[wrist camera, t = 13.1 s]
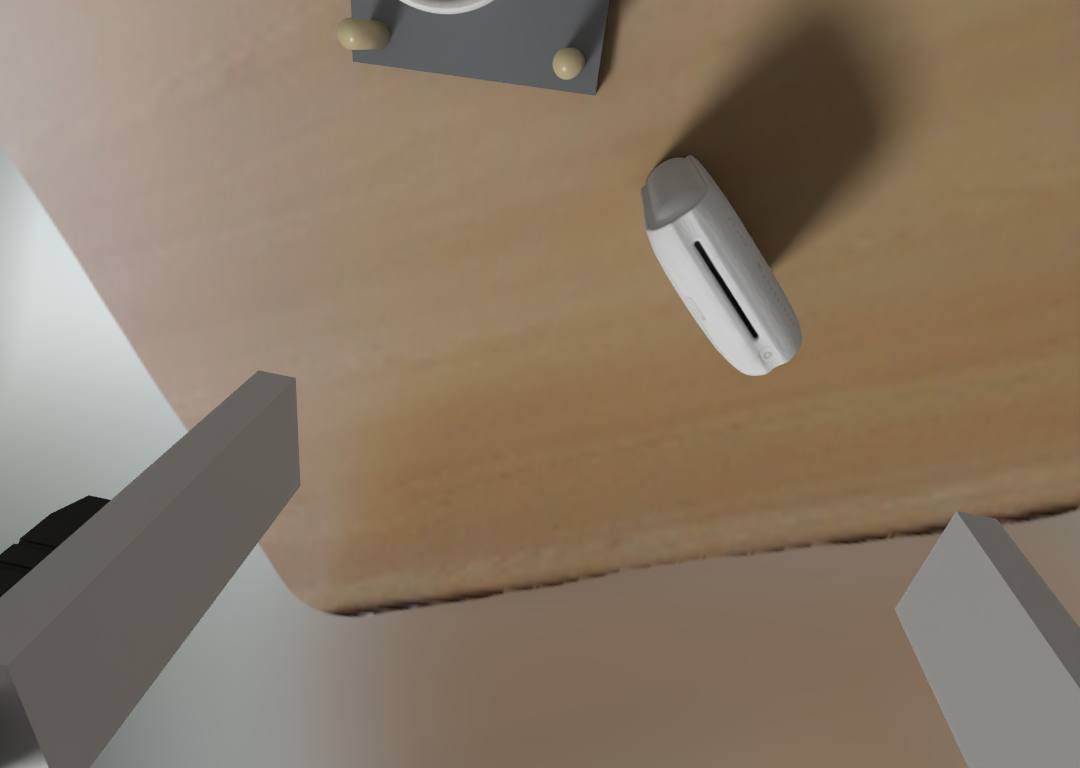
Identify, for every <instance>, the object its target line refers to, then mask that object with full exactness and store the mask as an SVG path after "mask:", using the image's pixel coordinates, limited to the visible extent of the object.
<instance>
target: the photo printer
mask: <svg viewBox="0 0 1080 768" xmlns="http://www.w3.org/2000/svg"><path fill="white" fill-rule="evenodd" d="M641 198H642V204H643V211H644V218H645V226H646V231H647V234H648V238H649V240H650V243H651V246H652V249H653V251H654V253H655V255H656V257H657V259H658V261H659V262H660V264H661V266H662V268H663V269H664V271H665V273H666V275H667V277H668V278H669V280H670V281H671V283H672V285H673V286H674V288H675V290H676V291H677V293H678V294H679V296H680V298H681V299H682V301H683V302H684V304H685V305H686V307H687V308H688V310H689V311H690V313H691V314H692V316H693V317H694V319H695V320H696V322H697V323H698V325H699V326H700V327H701V329H702V330H703V332H704V333H705V334H706V336H707V337H708V338H709V340H710V341H711V342H712V344H713V345H714V346H715V348H716V349H717V350H718V351H719V352H720V354H722V355H723V356H724V358H725V359H726V360H727V361H728V362H729V363H730V364H732V365H733V366H734V367H735V368H736V369H738V370H739V371H740V372H742V373H744V374H747V375H754V376H757V375H764V374H767V373H768V372H770V371H771V370H772V369H773V368H775V367H777V366H779V365H782V364H785V363H787V362H788V361H789V360H791V359H792V357H793V356H794V355H795V354H796V353H797V351H798V349H799V348H800V346H801V342H802V334H801V329H800V326H799V322H798V320H797V317H796V315H795V313H794V311H793V309H792V307H791V305H790V303H789V301H788V299H787V297H786V295H785V294H784V292H783V290H782V288H781V287H780V285H779V283H778V281H777V280H776V278H775V276H774V274H773V273H772V271H771V269H770V268H769V266H768V264H767V263H766V261H765V259H764V258H763V256H762V254H761V253H760V251H759V249H758V248H757V246H756V245H755V243H754V241H753V240H752V238H751V236H750V235H749V233H748V231H747V230H746V228H745V226H744V225H743V223H742V222H741V220H740V218H739V217H738V215H737V214H736V212H735V210H734V209H733V207H732V206H731V204H730V203H729V201H728V200H727V198H726V197H725V196H724V194H723V193H722V191H721V190H720V188H719V187H718V185H717V184H716V183H715V181H714V180H713V178H712V177H711V176H710V174H709V173H708V172H707V170H706V169H705V168H704V167H703V165H702V164H701V163H700V162H699V161H698V160H697V159H696V158H695V157H694V156H692V155H689V156H687V157H686V158H682V157H680V158H672V159H669V160H667V161H665V162H663V163H661V164H660V165H658V166H657V167H656V168H655V169H654V170H653V171H652V173H651V174H650V176H649V178H648V180H647V184H646V186H644V187H643V188H642V189H641Z"/></svg>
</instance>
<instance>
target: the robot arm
mask: <svg viewBox="0 0 1080 768" xmlns="http://www.w3.org/2000/svg"><path fill="white" fill-rule="evenodd" d="M299 487H300V469H299V446H298V423H297V401H296V378H293V377H288V376H283V375H278V374H273V373H268V372H263V371H257V372H256V373H255V374H254V375H253V376H252V377H251V378H249V379H248V380H247V381H246V382H245V383H244V384H243V385H241V386H240V387H239V388H238V389H237V390H236V391H235V392H233V393H232V394H231V395H230V396H229V397H228V398H227V399H226V400H224V401H223V402H222V403H221V404H220V405H219V406H218V407H216V408H215V409H214V410H213V411H212V412H211V413H210V414H208V415H207V416H206V417H205V418H204V419H203V420H202V421H201V422H199V423H198V424H197V425H196V426H195V427H194V428H193V429H191V430H190V431H189V432H188V433H187V434H186V435H185V436H183V437H182V438H181V439H180V440H179V441H178V442H177V443H176V444H174V445H173V446H172V447H171V448H170V449H169V450H168V451H166V453H164V454H163V455H162V456H161V457H160V458H158V459H157V460H156V461H155V462H154V463H153V464H152V465H150V466H149V467H148V468H147V469H146V470H145V471H144V472H143V473H141V474H140V475H139V476H138V477H137V478H136V479H135V480H133V482H131V483H130V484H129V485H128V486H127V487H125V488H124V489H123V490H122V491H121V492H120V493H119V494H118V495H117V496H115V497H114V498H113V499H112V500H108V499H103V498H98V497H93V496H87V497H85V498H83V499H81V500H78V501H76V502H75V503H72V504H70V505H68V506H66V507H64V508H62V509H60V510H58V511H56V512H54V513H51V514H50V515H49V516H48V517H46V518H45V519H44V520H42V521H41V522H40V523H39V524H37V525H36V526H35V527H34V528H33V529H31V530H30V531H29V532H28V533H27V534H25V535H24V536H23V537H22V538H20V541H19V543H18V544H13V545H12V546H11V547H9V548H8V549H7V550H5V551H4V552H3V553H2V554H1V555H0V768H90V766H91V765H92V764H93V762H94V761H95V760H96V758H97V757H98V756H99V754H100V753H101V751H102V750H103V749H104V747H105V746H106V745H107V744H108V742H109V741H110V740H111V738H112V737H113V736H114V734H115V733H116V732H117V730H118V729H119V728H120V726H121V725H122V724H123V722H124V721H125V719H126V718H127V717H128V716H129V714H130V713H131V712H132V710H133V709H134V707H135V706H136V705H137V703H138V702H139V701H140V700H141V698H142V697H143V696H144V694H145V693H146V691H147V690H148V689H149V687H150V686H151V685H152V683H153V682H154V681H155V679H156V678H157V677H158V675H159V674H160V673H161V671H162V670H163V669H164V667H165V666H166V665H167V663H168V662H169V661H170V659H171V658H172V657H173V655H174V654H175V652H176V651H177V650H178V649H179V647H180V646H181V645H182V643H183V642H184V641H185V639H186V638H187V637H188V635H189V634H190V633H191V631H192V630H193V629H194V627H195V626H196V625H197V623H198V622H199V621H200V619H201V618H202V617H203V615H204V614H205V612H206V611H207V609H209V607H210V606H211V604H212V603H213V602H214V600H215V599H216V598H217V596H218V595H219V594H220V592H221V591H222V590H223V588H224V587H225V586H226V584H227V583H228V582H229V580H230V579H231V578H232V576H233V575H234V574H235V572H236V571H237V570H238V568H239V567H240V566H241V564H242V563H243V562H244V560H245V559H246V558H247V556H248V555H249V554H250V552H251V551H252V549H253V548H254V547H255V546H256V544H257V543H258V542H259V540H260V539H261V538H262V536H263V535H264V534H265V532H266V531H267V530H268V528H269V527H270V526H271V524H272V523H273V522H274V520H275V519H276V517H277V516H278V515H279V513H280V512H281V511H282V509H283V508H284V507H285V505H286V504H287V503H288V501H289V500H290V499H291V497H292V496H293V495H294V493H295V492H296V491H297V489H298V488H299ZM895 611H896V613H897V615H898V618H899V620H900V622H901V624H902V626H903V628H904V630H905V633H906V635H907V637H908V639H909V641H910V643H911V645H912V648H913V649H914V652H915V654H916V656H917V658H918V660H919V663H920V665H921V667H922V669H923V671H924V673H925V675H926V678H927V680H928V682H929V684H930V686H931V688H932V691H933V693H934V695H935V697H936V699H937V701H938V703H939V706H940V708H941V710H942V712H943V714H944V716H945V718H946V720H947V723H948V725H949V727H950V729H951V731H952V733H953V736H954V738H955V740H956V742H957V744H958V746H959V749H960V751H961V753H962V755H963V757H964V759H965V762H966V763H967V766H968V768H1080V627H1079V626H1078V625H1077V623H1076V622H1075V621H1074V620H1073V618H1072V617H1071V616H1070V614H1069V613H1068V612H1067V611H1066V609H1065V608H1064V607H1063V605H1062V604H1061V603H1060V601H1059V600H1058V599H1057V597H1056V596H1055V595H1054V594H1053V592H1052V591H1051V590H1050V588H1049V587H1048V586H1047V584H1046V583H1045V582H1044V581H1043V579H1042V578H1041V577H1040V575H1039V574H1038V573H1037V571H1036V570H1035V569H1034V567H1033V566H1032V565H1031V564H1030V562H1029V561H1028V560H1027V558H1026V557H1025V556H1024V554H1023V553H1022V552H1021V551H1020V549H1019V548H1018V547H1017V545H1016V544H1015V543H1014V541H1013V540H1012V539H1011V537H1010V536H1009V535H1008V534H1007V532H1006V531H1005V530H1004V528H1003V527H1002V526H1001V524H1000V523H999V522H998V521H997V519H993V518H988V517H983V516H978V515H973V514H968V513H963V512H958V511H956V513H955V514H954V516H953V517H952V519H951V520H950V522H949V524H948V525H947V527H946V528H945V530H944V532H943V533H942V535H941V536H940V538H939V540H938V541H937V543H936V544H935V546H934V548H933V549H932V551H931V552H930V554H929V555H928V557H927V559H926V560H925V562H924V563H923V565H922V567H921V568H920V570H919V571H918V573H917V575H916V576H915V578H914V579H913V581H912V583H911V584H910V586H909V587H908V589H907V591H906V592H905V594H904V595H903V597H902V598H901V600H900V602H899V603H898V605H897V606H896V608H895Z"/></svg>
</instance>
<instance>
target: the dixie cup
mask: <svg viewBox="0 0 1080 768" xmlns="http://www.w3.org/2000/svg"><path fill="white" fill-rule="evenodd" d="M400 1H402V2H403V3H405V4H407V5H409V6H412V7H414V8H416V9H419V10H422V11H426V12H430V13H436V14H459V13H465V12H469V11H472V10H475V9H478V8H481V7H483V6H485V5H487V4H489V3H491V2H492V1H494V0H400Z"/></svg>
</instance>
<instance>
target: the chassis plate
mask: <svg viewBox="0 0 1080 768" xmlns="http://www.w3.org/2000/svg"><path fill="white" fill-rule="evenodd" d="M609 4H610V0H494V1H492V2H491V3H489V4H487V5H485V6H483V7H481V8H478V9H475V10H472V11H469V12H465V13H459V14H436V13H430V12H426V11H422V10H419V9H416V8H414V7H412V6H409V5H407V4H405V3H403V2H402V1H400V0H351V10H352V18H346V19H343V20H342V21H341V22H340V23H339V25H338V29H337V34H338V38H339V41H340V42H341V44H342V45H343V46H344V47H346V48H347V49H350V50H352V51H353V61H354V62H361V63H368V64H375V65H382V66H390V67H397V68H404V69H411V70H418V71H425V72H432V73H439V74H446V75H454V76H461V77H468V78H475V79H482V80H489V81H496V82H503V83H511V84H518V85H525V86H532V87H539V88H546V89H553V90H560V91H567V92H575V93H582V94H589V95H596V92H597V85H598V78H599V71H600V65H601V58H602V51H603V44H604V38H605V31H606V24H607V17H608V11H609Z"/></svg>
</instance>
